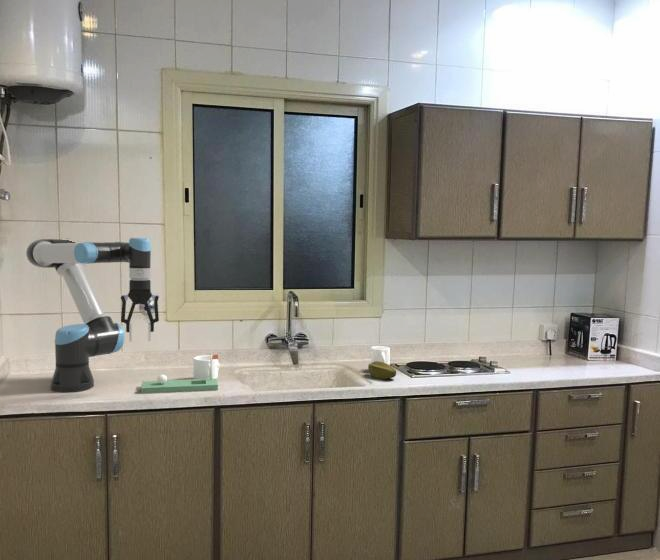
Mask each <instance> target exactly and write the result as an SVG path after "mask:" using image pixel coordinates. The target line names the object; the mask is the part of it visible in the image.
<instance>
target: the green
mask: <svg viewBox="0 0 660 560" xmlns="http://www.w3.org/2000/svg"><path fill="white" fill-rule="evenodd" d="M212 359H218V360H219V354H210V379H194V378H192V379H172V380H171V379H169V380H168V379H167V382H166V383H164V384H160V383H159V382H158V380H149V381H148V380H147V381H142V382H141V387H140V394H156V393H157V394H158V392H159V393H160V392H161V393H162V392H163V393H177V392H178V393H181V392H183V393H184V391H185V392H204V391H206V390H207V391H218V390H219V384H218V382H217V381H218V380H217V379H212ZM207 391H206V392H207Z"/></svg>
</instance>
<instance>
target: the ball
mask: <svg viewBox="0 0 660 560" xmlns="http://www.w3.org/2000/svg"><path fill="white" fill-rule="evenodd" d="M167 380H168V377H167V375H165V374H159V375H158V377H157V380H156V381H158V382H159V383H160V384H164V383H166V382H167Z"/></svg>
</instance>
